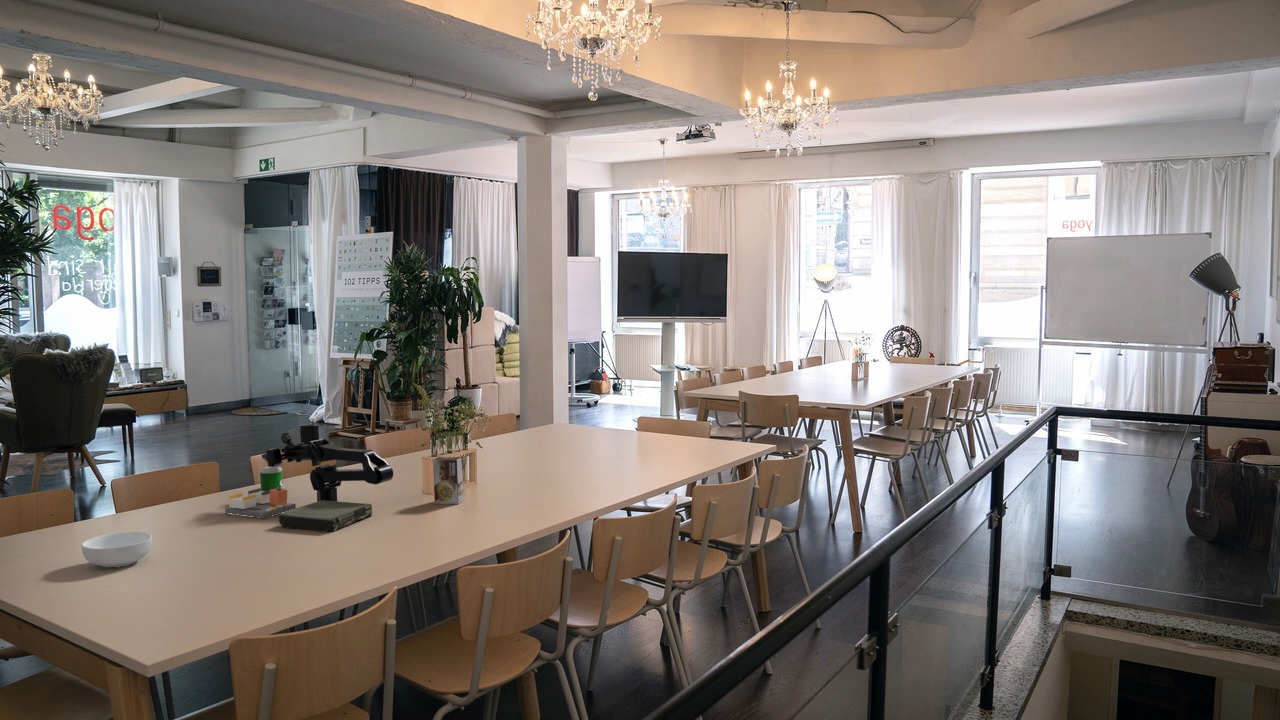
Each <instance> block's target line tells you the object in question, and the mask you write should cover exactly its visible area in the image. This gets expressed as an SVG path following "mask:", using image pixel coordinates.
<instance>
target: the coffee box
mask: <svg viewBox="0 0 1280 720" xmlns="http://www.w3.org/2000/svg"><path fill="white" fill-rule="evenodd" d="M432 466H433V467H432V469H433V470H432V472H433V487H434V488H433V490H434V491H433V492H434V494H433V495H434V496H433V497H434V504H435V505H460V503H461V502H463V501H464V482H463V481H464V478H463V477H464V476H463V456H437V457H435V458H434V459H432Z"/></svg>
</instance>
